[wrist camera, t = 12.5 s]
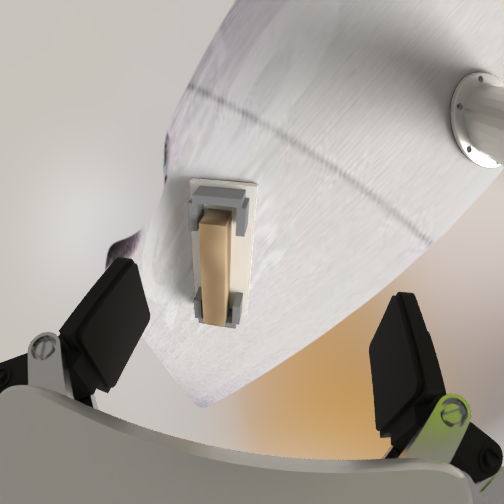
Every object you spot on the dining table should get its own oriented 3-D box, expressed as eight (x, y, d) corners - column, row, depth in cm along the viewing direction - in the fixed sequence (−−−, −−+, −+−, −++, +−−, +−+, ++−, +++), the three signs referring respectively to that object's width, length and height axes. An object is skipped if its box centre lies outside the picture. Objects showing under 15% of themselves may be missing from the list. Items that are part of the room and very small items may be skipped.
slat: (232, 210, 34) (225, 226, 31) (229, 307, 43) (224, 326, 40) (208, 208, 35) (198, 223, 31) (209, 304, 43) (203, 323, 40)
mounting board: (258, 184, 33) (254, 196, 30) (247, 313, 45) (243, 331, 41) (192, 178, 34) (181, 189, 30) (197, 305, 45) (191, 323, 42)
